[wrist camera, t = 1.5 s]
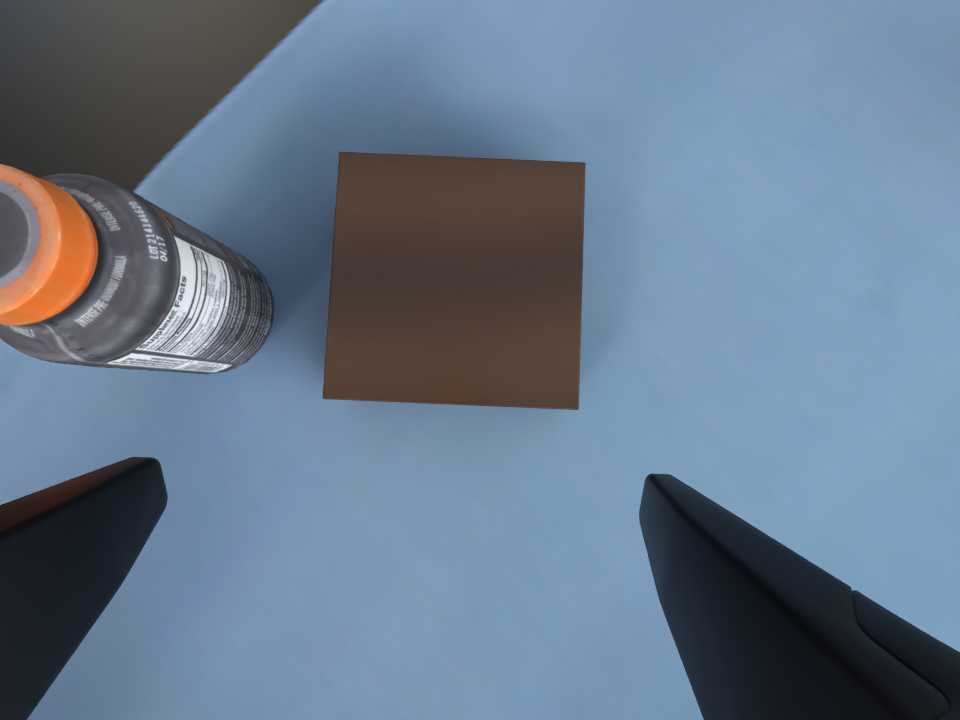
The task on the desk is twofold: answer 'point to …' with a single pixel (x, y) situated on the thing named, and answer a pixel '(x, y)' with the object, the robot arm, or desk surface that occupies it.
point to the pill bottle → (121, 281)
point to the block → (456, 281)
